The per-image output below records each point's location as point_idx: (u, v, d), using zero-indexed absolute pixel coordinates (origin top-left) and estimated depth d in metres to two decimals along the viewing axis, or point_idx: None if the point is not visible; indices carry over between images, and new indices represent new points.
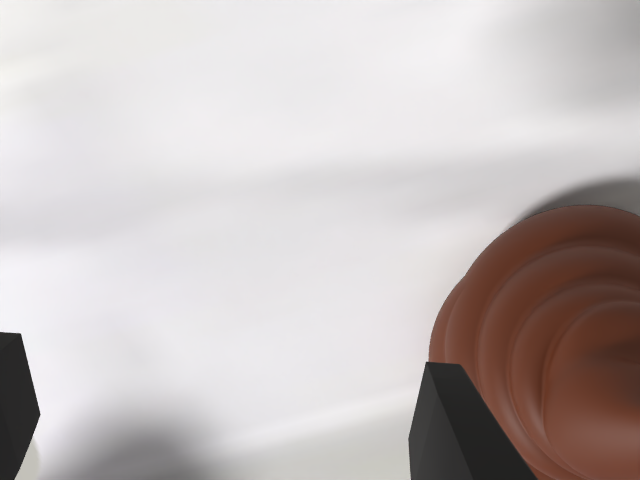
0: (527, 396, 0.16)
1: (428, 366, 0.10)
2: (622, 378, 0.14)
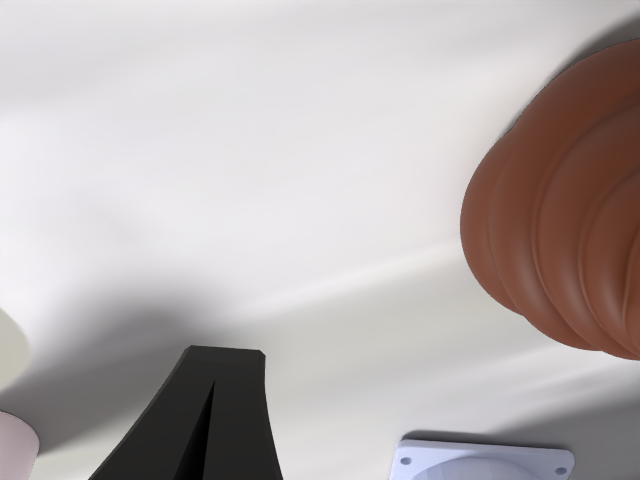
0: (607, 288, 0.14)
1: (224, 352, 0.10)
2: None
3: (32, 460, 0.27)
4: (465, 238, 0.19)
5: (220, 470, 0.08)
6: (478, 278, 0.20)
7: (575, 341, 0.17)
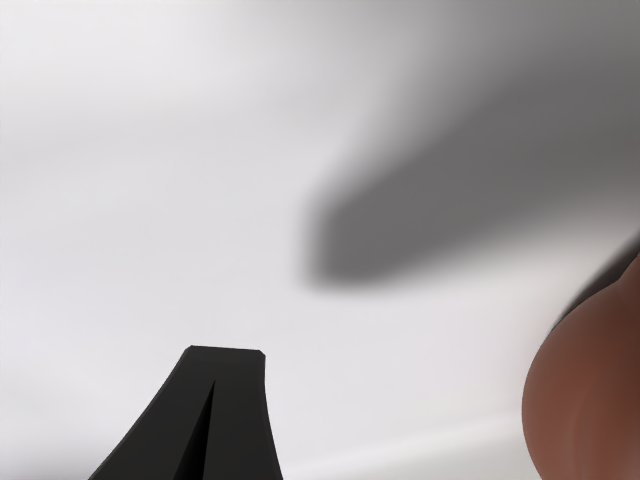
0: None
1: (224, 352, 0.10)
2: None
3: None
4: (534, 437, 0.13)
5: (220, 470, 0.08)
6: None
7: None
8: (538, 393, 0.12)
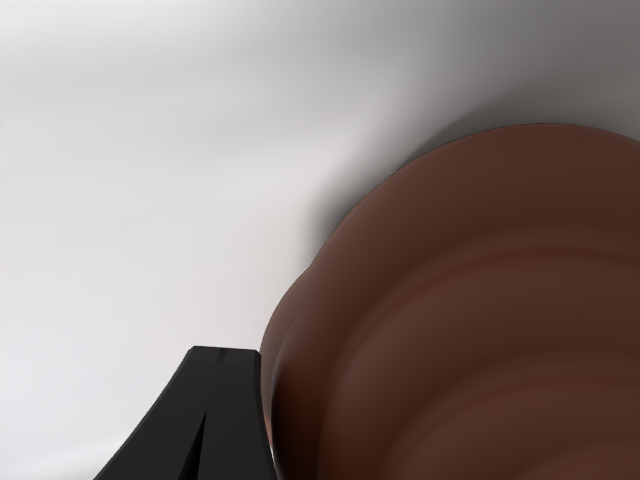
0: None
1: (220, 352, 0.10)
2: None
3: None
4: None
5: (215, 469, 0.08)
6: None
7: None
8: None
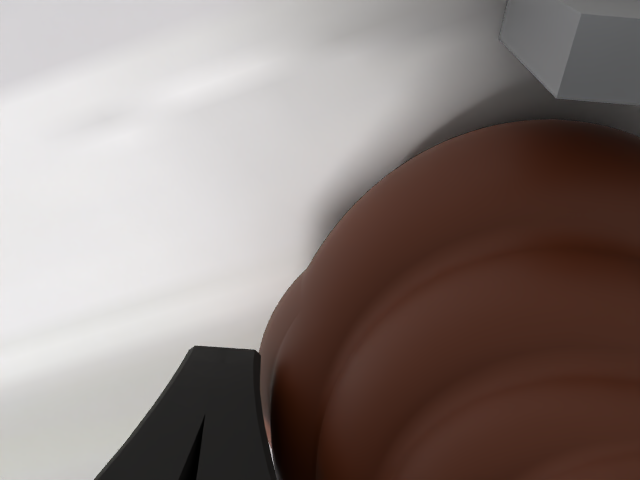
0: None
1: (219, 351, 0.10)
2: None
3: None
4: None
5: (214, 469, 0.08)
6: None
7: None
8: None
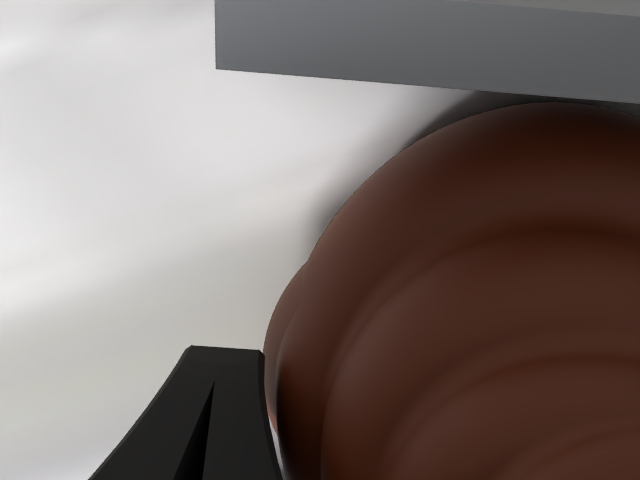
0: None
1: (224, 352, 0.10)
2: None
3: None
4: None
5: (220, 470, 0.08)
6: None
7: None
8: None
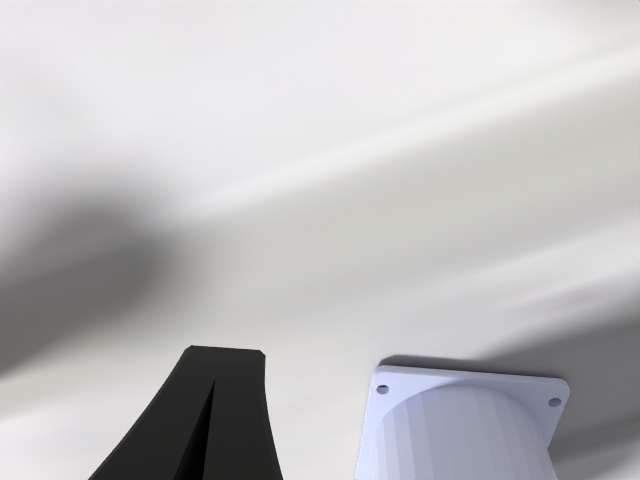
0: None
1: (224, 352, 0.10)
2: None
3: None
4: None
5: (220, 470, 0.08)
6: None
7: None
8: None
